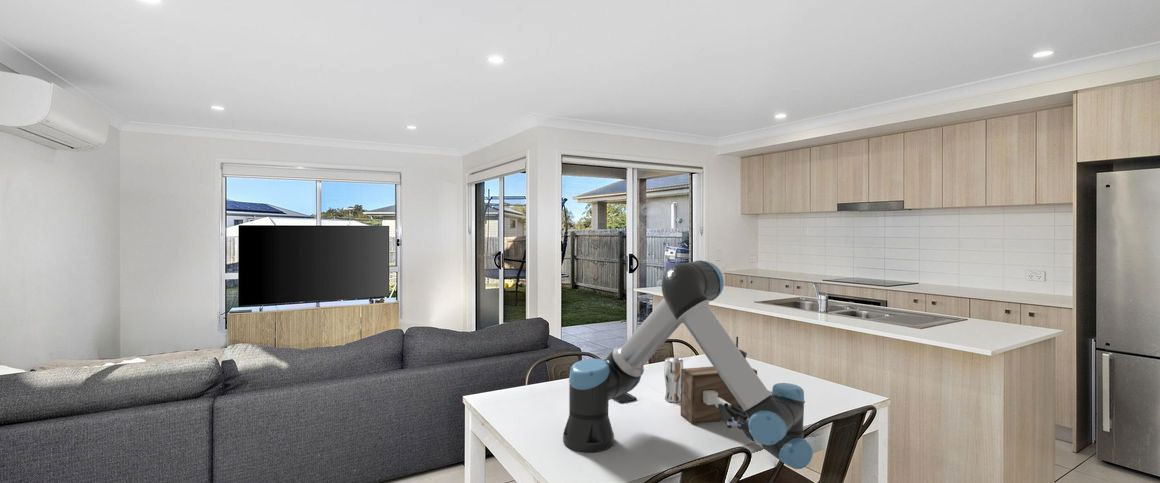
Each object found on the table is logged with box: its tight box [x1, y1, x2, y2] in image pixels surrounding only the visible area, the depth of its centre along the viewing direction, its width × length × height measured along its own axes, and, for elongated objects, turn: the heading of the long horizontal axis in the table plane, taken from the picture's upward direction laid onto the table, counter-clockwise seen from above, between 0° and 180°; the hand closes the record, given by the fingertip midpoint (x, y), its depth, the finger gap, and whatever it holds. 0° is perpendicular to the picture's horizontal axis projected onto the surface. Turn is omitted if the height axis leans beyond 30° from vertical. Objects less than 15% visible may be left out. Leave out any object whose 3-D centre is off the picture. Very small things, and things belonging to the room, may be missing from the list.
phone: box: [612, 392, 637, 404], centre depth 193 cm, size 8×1×15 cm
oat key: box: [702, 389, 718, 405], centre depth 167 cm, size 6×4×4 cm, turn 16°
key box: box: [680, 365, 758, 425], centre depth 173 cm, size 8×24×16 cm, turn 106°
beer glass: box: [663, 357, 684, 404], centre depth 188 cm, size 7×7×15 cm
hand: (717, 401), depth 162 cm, fingers closed
